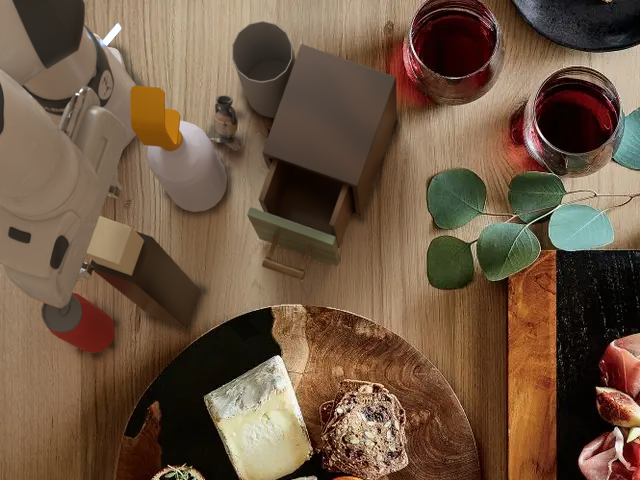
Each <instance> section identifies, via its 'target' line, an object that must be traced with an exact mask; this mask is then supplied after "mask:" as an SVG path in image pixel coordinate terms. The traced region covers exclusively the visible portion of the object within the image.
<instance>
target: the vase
mask: <svg viewBox="0 0 640 480" xmlns="http://www.w3.org/2000/svg"><path fill="white" fill-rule="evenodd" d="M215 100H216V102H215V104H214V110H215V111H214V112H215V114H214V117H213V125H214V130H213V133H211V134H210V138H209V140H210V141H211V142H213V141H214V143H215V144H217V145H219V144H220V143H222V144H225V145H226V146H228V147H230V150H233V151H235V152H237V153H238V151H239V150H240V149H241V146H240V145H242V142H239V143H238V140H236V139H235V138H234V136H235V134H236V133H237V130H238V126H239V122H238V117H237V116H236V115H237V114H236V109H235V108H234V107H233V106H232V105H233V103H234V102H233V101H234V99H233V97H231V96H229V95H225V94H222V95H218V96H216V99H215ZM248 119H250V118H248ZM215 131H216V133H214V132H215ZM213 134H214V136H216V137H212V135H213ZM219 136H220V137H219ZM217 137H218V138H217Z"/></svg>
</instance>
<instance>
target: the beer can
mask: <svg viewBox="0 0 640 480" xmlns="http://www.w3.org/2000/svg"><path fill="white" fill-rule="evenodd" d="M40 312H41V319H42V321H43V323H44V324H45V327H46V328H47V329H48V331H49V332H50V333H51V334H52V335H53V336H55V337H56V338H58V339H60V340H62V341H64V342H66V343H68V344H70V345H71V346H73V347H75V348H77V349H79V350H81V351H83V352H87V353H90V354H95V353H100V352H103V351H105V350H106V349H107V348H108V347H110V345H111V344H112V343H113V341H114V338H115V335H116V326H115V323H114V320H113V319H112V317H111V316H110V314H109V313H107V312H105V311H104V310H102V309H101V308H99V307H98V306H97V305H96V304H93V303H92V302H91V301H90V300H88V299H87V298H85V297H83V296H82V295H81V294H79V293H76V292H73V293H72V295H71V299H70V301H69V303H68V304H67V305H66V306H64V307H63V308H58V307H55V306H52V305H49V304H46V303H43V302H42V306H41V308H40Z"/></svg>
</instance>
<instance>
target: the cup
mask: <svg viewBox="0 0 640 480" xmlns="http://www.w3.org/2000/svg"><path fill="white" fill-rule="evenodd" d="M231 60H232V62H233V63H232V64H233V65H234V69H235V71H236V74H237V76H238V79H239V82H240V85H241V87H242V90H243V92H244V95H245V97H246V100H247V102H248V104H249V106H250V108H251V109H252V110H254V111H255V112H256V113H258V114H259V115H260V116H263V117H266V118H272V119H275V116H276V113H277V110H278V108H279V105H280V102H281V99H282V96H283V94H284V91H285V88H286V85H287V82H288V80H289V77H290V74H291V71H292V68H293V66H294V63H295V60H296V55H295V51H294V46H293V43H292V41H291V39H290V37H289V34H288V33H287V31H285V30H284V29H283V28H282V27H280V26H279V25H278V24H277V23H274V22H271V21H267V20H266V21H265V20H259V21H256V22H251V23H248V24H247V25H246V26H245V27H243V28H242V29H241V30H239V31H238V32H237V34H236V36H235V38H234V40H233V42H232V44H231Z"/></svg>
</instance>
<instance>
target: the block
mask: <svg viewBox="0 0 640 480" xmlns="http://www.w3.org/2000/svg"><path fill="white" fill-rule="evenodd" d="M136 231H137V230H136V229H134V228H133V227H132V226H129V225H127V224H124V223H121V222H118V221H116V220H112V219H109V218H107V217H104V216H102V215H100V216H99V219H98V222H97V225H96V228H95V230H94V233H93V236H92V239H91V242H90V245H89V247H88V250H87V253H86V256H87V257H88V258H90V260H93V261H95V262H96V263H97V264H100V265H103V266H105V267H108V268H111V269H114V270H117V271H120V272H122V273H125V274H128V275H131V276H132V273H133V271H134V268H135V265H136V262H137V259H138V257H139V254H140V251H141V248H142V245H143V243H144V240H143V239H142V238H141V236H140V235H139V234H138V233H137V232H136Z"/></svg>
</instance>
